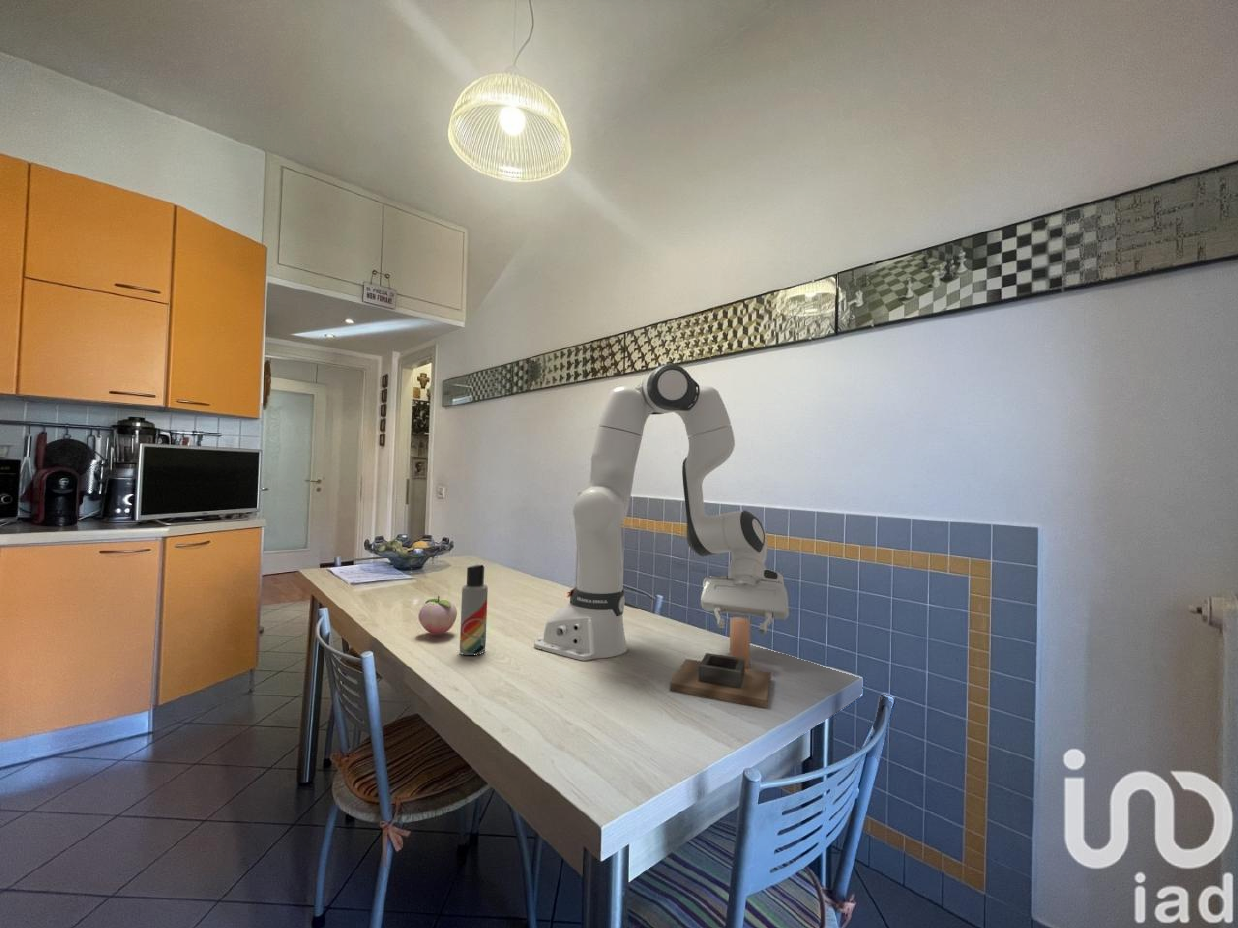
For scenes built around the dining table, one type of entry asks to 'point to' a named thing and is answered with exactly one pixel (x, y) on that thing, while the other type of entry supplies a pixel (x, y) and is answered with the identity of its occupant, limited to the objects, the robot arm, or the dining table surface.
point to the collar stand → (723, 680)
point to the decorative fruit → (437, 616)
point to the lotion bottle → (474, 612)
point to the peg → (740, 639)
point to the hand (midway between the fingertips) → (741, 629)
